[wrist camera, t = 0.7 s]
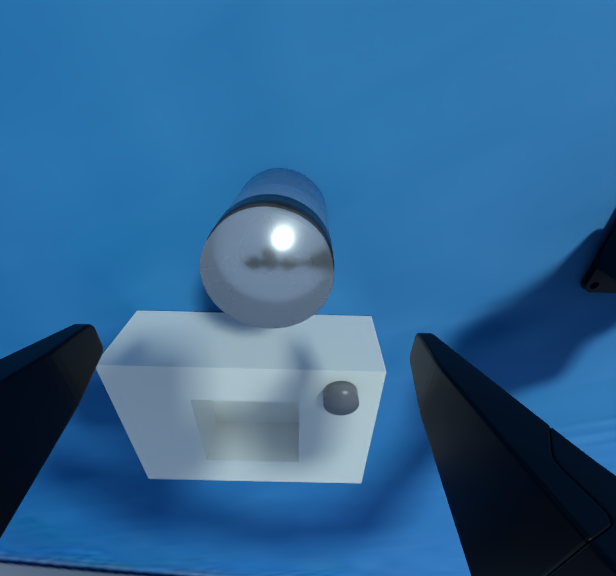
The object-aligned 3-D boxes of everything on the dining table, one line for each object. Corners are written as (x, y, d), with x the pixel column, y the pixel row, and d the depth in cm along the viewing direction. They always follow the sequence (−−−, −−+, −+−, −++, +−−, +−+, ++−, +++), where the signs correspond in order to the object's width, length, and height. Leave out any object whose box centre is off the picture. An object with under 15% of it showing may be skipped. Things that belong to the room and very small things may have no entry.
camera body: (371, 316, 21) (389, 383, 16) (353, 423, 28) (362, 494, 23) (137, 310, 21) (85, 376, 16) (173, 419, 28) (143, 490, 23)
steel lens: (329, 168, 16) (340, 212, 10) (324, 256, 19) (330, 331, 13) (232, 165, 16) (187, 208, 10) (240, 254, 19) (209, 328, 13)
